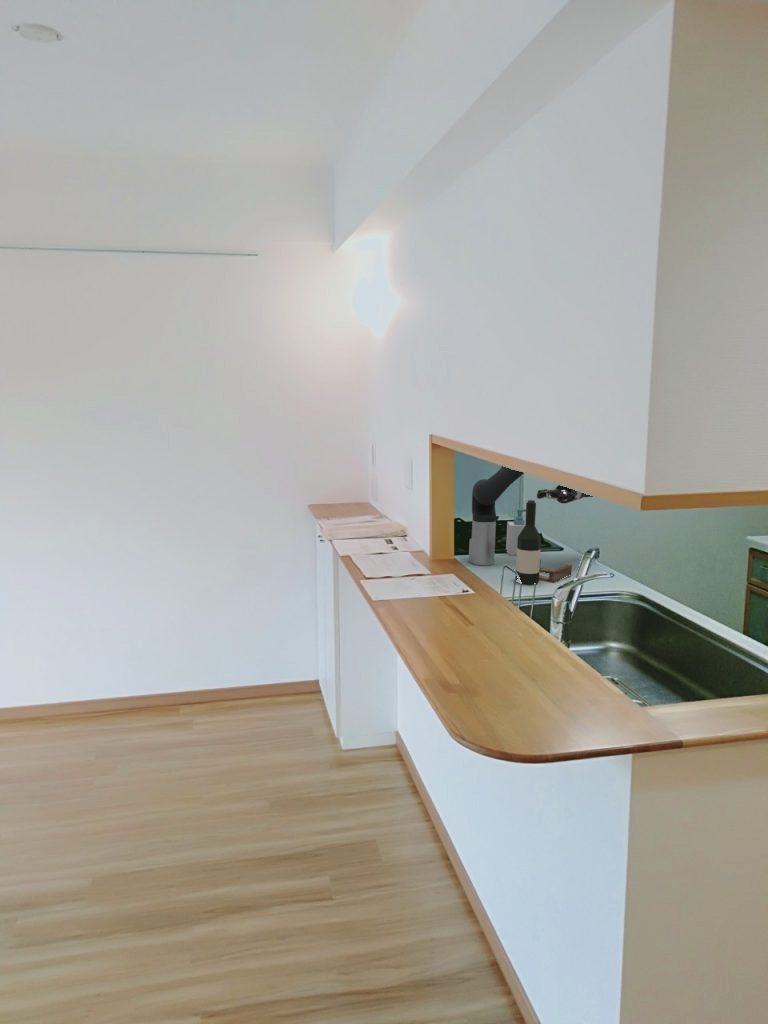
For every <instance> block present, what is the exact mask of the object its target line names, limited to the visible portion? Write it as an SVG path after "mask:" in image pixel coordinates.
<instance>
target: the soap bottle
mask: <svg viewBox="0 0 768 1024" xmlns="http://www.w3.org/2000/svg"><path fill="white" fill-rule="evenodd" d="M514 510H515V511H517V512H516V513H517V516H515V519H513V521H511V520H509V521H507V522H506V543H505V545H506V546H505V551H506V550H507V551H506V553H507V555H508V556H517V542H518V536H519V534H520V533H521V531H522V530H523V528H524V527H525V520H524V517H523V516H522V513H524V512H525V513H526V508H514Z"/></svg>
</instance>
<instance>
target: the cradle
mask: <svg viewBox="0 0 768 1024" xmlns="http://www.w3.org/2000/svg"><path fill="white" fill-rule="evenodd" d="M541 562H542V560H541V559H540V569H539V573H542V572H545V573H544V574H547V573H549V574H548V576H546V575H540V574H539V581H543V582H548V583H552V584H555V583H556V581H557V582H559V581H558V580H560V579H562V578H564V577H566V576H569V575H571V576H572V571H573V570H572V569H573V568H572V567H573V566H572V565H571V564H565V565H562V566H559V567H556V568H554V569H549V568H545V567H541V565H542V564H541ZM562 580H563V579H562ZM560 581H561V580H560ZM554 582H555V583H554Z"/></svg>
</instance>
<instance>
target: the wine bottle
mask: <svg viewBox="0 0 768 1024" xmlns="http://www.w3.org/2000/svg"><path fill="white" fill-rule="evenodd" d="M525 509H526V511H525V520H524V522H525V527H524V528H523V530H522V531H521V533H520V534H519V536H518V542H517V555H516V564H515V565H516V567H515V573H516V572H517V573H518V575H519V577H520V580H521V582H522V584H521V585H523V586H535V585H534V583H536V585H538V584H539V582H540V580H539V575H540V572H539V569H540V568H541V566H540V560H541V550H542V548H541V547H542V546H541V545H542V537H541V535H540V533H539V531H538V529H537V528H536V514H537V510H536V509H537V503H536V501H535V500H534V499H528V500H527V501H526V505H525ZM517 579H518V578H517V576H516V575H515V581H516V580H517Z"/></svg>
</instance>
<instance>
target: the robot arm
mask: <svg viewBox="0 0 768 1024" xmlns="http://www.w3.org/2000/svg"><path fill="white" fill-rule="evenodd" d="M524 474H525V473H523V472H519V471H515V470H511V469H509V468H506V467H503V465H502V466H501V467H500V469H498V471H496V472H495V473H494V474H493V475H491V476H490V477H489V478H488V479H486V478H485V479H479V480H477V481H476V482H475V483H474V485H473V488H472V492H471V513H472V524H471V526H472V527H471V538H469V543H468V544H469V545H468V546H469V547H468V563H471V564H473V565H477V566H491V565H492V566H493V565H494V564H495V551H496V532H497V531H496V529H497V527H496V526H497V513H496V501H498V499H499V498H500V497H501V495H502V494H503V493H505V491H506V490H507V489H508V488H509V487H510V486H511V485H512V484H513V483H514V482H516V481H517V480H518V479H519V478H520V477H522V476H523V475H524ZM536 498H537V500H539V499H547V500H556V501H557V502H558V503H561V504H568V503H573V502H575V501H578V500H581V499H583V498H594V497H593V496H590V495H586V494H584V493H581V492H578V491H575V490H573V489H569V488H567V487H563V486H560V484H558V485H557V486H556V487H555V488H553V489H546V488H545V489H540V490H537V493H536Z"/></svg>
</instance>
